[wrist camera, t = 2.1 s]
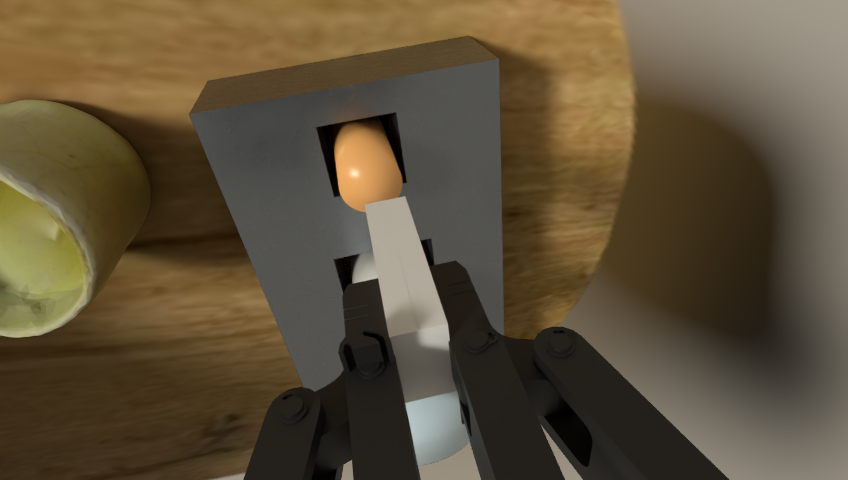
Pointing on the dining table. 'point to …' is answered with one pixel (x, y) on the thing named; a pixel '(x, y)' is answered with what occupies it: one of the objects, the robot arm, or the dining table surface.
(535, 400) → the robot arm
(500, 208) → the housing
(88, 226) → the mug
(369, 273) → the cartridge
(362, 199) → the orange egg shape
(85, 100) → the dining table surface
